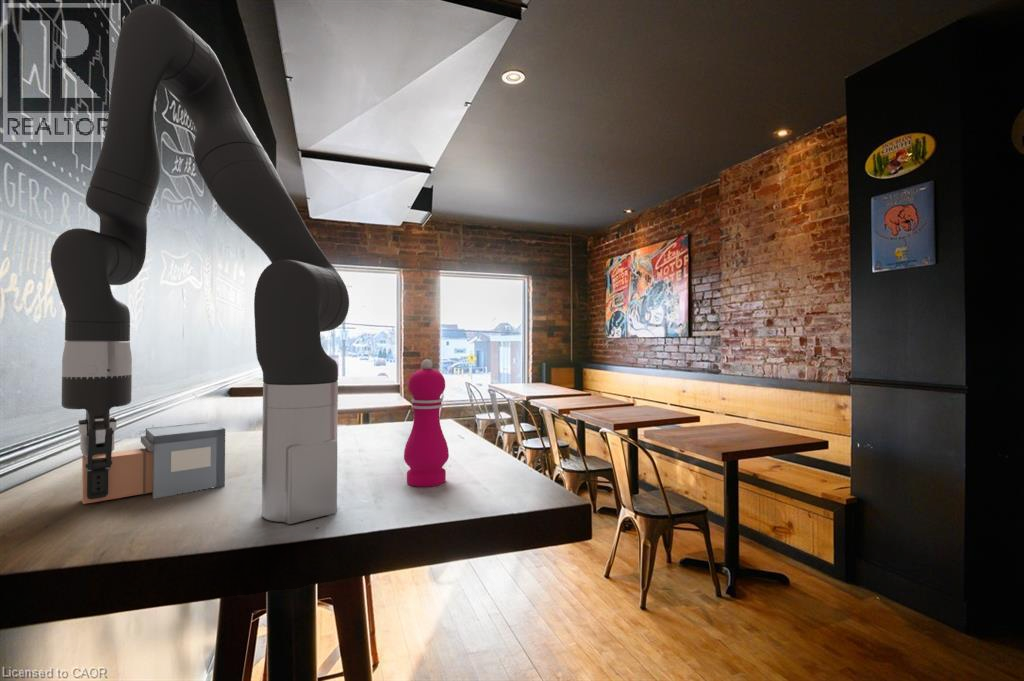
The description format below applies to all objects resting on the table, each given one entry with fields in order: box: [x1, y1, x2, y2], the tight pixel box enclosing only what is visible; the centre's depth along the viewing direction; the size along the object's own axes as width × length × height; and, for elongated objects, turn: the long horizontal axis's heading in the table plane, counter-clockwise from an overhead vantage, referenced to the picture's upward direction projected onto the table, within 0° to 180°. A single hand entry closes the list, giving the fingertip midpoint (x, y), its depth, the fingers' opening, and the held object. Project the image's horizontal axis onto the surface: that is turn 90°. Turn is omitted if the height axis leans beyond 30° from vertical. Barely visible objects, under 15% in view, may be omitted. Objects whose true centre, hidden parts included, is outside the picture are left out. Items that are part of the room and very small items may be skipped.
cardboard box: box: [81, 447, 153, 505], centre depth 72 cm, size 4×15×6 cm, turn 134°
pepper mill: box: [403, 358, 450, 488], centre depth 78 cm, size 7×7×20 cm
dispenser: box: [140, 421, 226, 499], centre depth 75 cm, size 9×10×9 cm
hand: (96, 493), depth 68 cm, fingers closed on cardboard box, 3 cm apart
